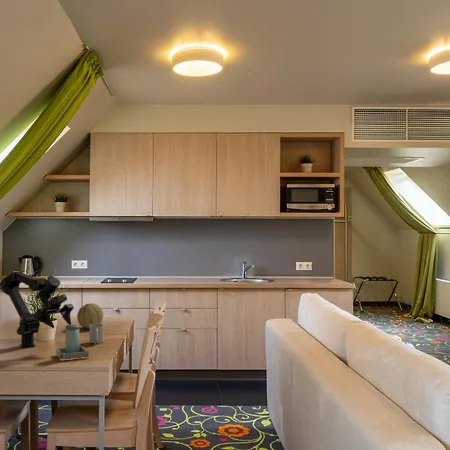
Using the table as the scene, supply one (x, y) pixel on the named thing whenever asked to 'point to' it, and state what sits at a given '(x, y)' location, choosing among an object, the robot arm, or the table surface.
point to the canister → (72, 339)
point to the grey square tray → (81, 353)
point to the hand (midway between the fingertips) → (62, 326)
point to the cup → (96, 333)
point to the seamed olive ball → (89, 315)
